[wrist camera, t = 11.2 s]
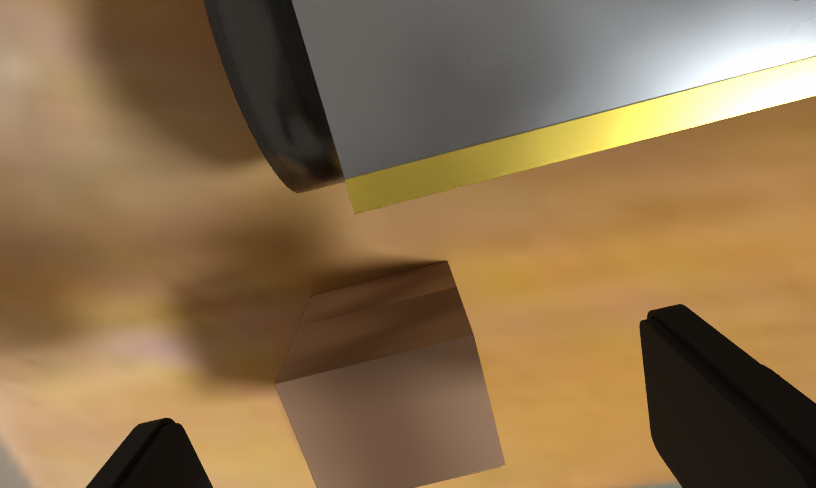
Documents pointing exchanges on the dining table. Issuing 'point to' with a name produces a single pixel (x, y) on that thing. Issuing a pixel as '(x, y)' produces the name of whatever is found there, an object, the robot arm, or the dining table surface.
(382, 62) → the trolley
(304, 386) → the block
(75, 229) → the dining table surface
